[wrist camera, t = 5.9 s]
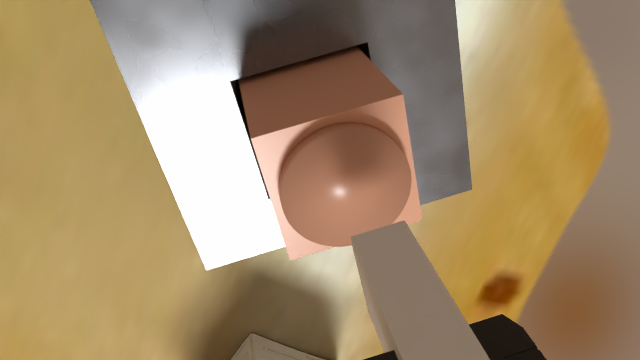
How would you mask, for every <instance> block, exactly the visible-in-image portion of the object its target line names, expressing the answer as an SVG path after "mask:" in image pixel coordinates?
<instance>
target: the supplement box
mask: <svg viewBox="0 0 640 360" xmlns="http://www.w3.org/2000/svg"><path fill="white" fill-rule="evenodd" d="M231 360H325V359H322V358H319V357H315V356H312V355H309V354H306V353H304V352H301V351H298V350H295V349H293V348H290V347H287V346H284V345H282V344H279V343H276V342H274V341H271V340H268V339H266V338H263V337H261V336H259V335H256V334H253V333H251V334H250V335H249V336H248V337H247V339H246V340H245V341H244V342H243V344H242V345H241V346H240V348H239V349H238V350H237V352H236V353H235V354H234V356H233V357H232V358H231Z"/></svg>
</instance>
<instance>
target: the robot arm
mask: <svg viewBox="0 0 640 360" xmlns="http://www.w3.org/2000/svg"><path fill="white" fill-rule="evenodd" d="M350 238H351V242H352V247H353V251H354V255H355V259H356V263H357V267H358V271H359V275H360V279H361V283H362V288H363V292H364V296H365V300H366V304H367V308H368V312H369V314H370V317H371V320H372V322H373V325H374V327H375V330H376V332H377V335H378V337H379V340H380V342H381V345H382V347H383V350H384V352H385V353H383V354H380V355H377V356H373V357H370V358H367V359H364V360H546V358H545V357H544V356H543V354H542V353H541V352H540V350H538V349H537V346H536V345H535V343H534V342H533V341H532V340H531V338H530V337H529V335H528V334H527V333H526V331H525V330H524V329H523V327H521V326H520V325H518V324H517V323H515V322H513V321H512V320H510V319H509V318H507V317H506V316H504V315H503V314H501V315H498V316H495V317H492V318H488V319H485V320H482V321H479V322H476V323H473V324H470V325H468V323H467V321H466V320H465V318H464V316H463V315H462V313H461V312H460V310H459V308H458V307H457V305H456V303H455V302H454V300H453V299H452V297H451V295H450V294H449V292H448V290H447V289H446V287H445V286H444V284H443V282H442V281H441V279H440V277H439V276H438V274H437V273H436V271H435V269H434V268H433V266H432V264H431V263H430V261H429V260H428V258H427V256H426V255H425V253H424V251H423V250H422V248H421V246H420V245H419V243H418V242H417V240H416V238H415V237H414V235H413V233H412V232H411V230H410V229H409V227H408V225H407V224H406V222H405V220H403V221H400V222H397V223H394V224H390V225H387V226H384V227H381V228H377V229H374V230H371V231H367V232H364V233H361V234H358V235H354V236H351V237H350Z"/></svg>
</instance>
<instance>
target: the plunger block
mask: <svg viewBox="0 0 640 360" xmlns="http://www.w3.org/2000/svg"><path fill="white" fill-rule="evenodd" d="M90 2H91V4H92V6H93V9H94V11H95V13H96V16H97V18H98V20H99V22H100V25H101V27H102V29H103V32H104V34H105V36H106V39H107V41H108V43H109V46H110V48H111V50H112V53H113V55H114V57H115V60H116V62H117V64H118V67H119V69H120V71H121V73H122V76H123V78H124V80H125V83H126V85H127V87H128V90H129V92H130V94H131V97H132V99H133V101H134V104H135V106H136V108H137V111H138V113H139V115H140V117H141V120H142V122H143V124H144V127H145V129H146V131H147V134H148V136H149V138H150V141H151V143H152V145H153V148H154V150H155V152H156V155H157V157H158V159H159V162H160V164H161V166H162V168H163V171H164V173H165V175H166V178H167V180H168V182H169V185H170V187H171V189H172V192H173V194H174V196H175V199H176V201H177V203H178V206H179V208H180V210H181V213H182V215H183V217H184V219H185V222H186V224H187V226H188V229H189V231H190V233H191V236H192V238H193V240H194V243H195V245H196V247H197V250H198V252H199V254H200V257H201V259H202V261H203V264H204V266H205V268H206V270H210V269H213V268H216V267H220V266H223V265H226V264H229V263H233V262H236V261H239V260H242V259H246V258H249V257H252V256H256V255H259V254H262V253H265V252H269V251H272V250H275V249H278V248H282V247H285V243H284V240H283V237H282V234H281V231H280V228H279V225H278V222H277V218H276V215H275V212H274V209H273V206H272V203H271V200H270V197H269V194H268V191H267V187H266V184H265V181H264V178H263V175H262V172H261V169H260V166H259V163H258V160H257V157H256V153H255V150H254V147H253V144H252V141H251V138H250V133H249V128H248V123H247V119H246V114H245V109H244V105H243V102H242V99H241V96H240V93H239V90H238V86H237V83H236V79H240V78H243V77H247V76H250V75H254V74H257V73H261V72H264V71H268V70H271V69H275V68H278V67H282V66H285V65H289V64H293V63H296V62H300V61H303V60H307V59H310V58H314V57H317V56H321V55H324V54H328V53H331V52H335V51H338V50H342V49H345V48H349V47H352V46H357V47H358V48H359V49H360V50H361V51H362V52H363V53H364V54H365V55H366V56H367V57H368V58H369V59H370V60H371V61H372V63H373V64H374V65H375V66H376V67H377V68H378V69H379V70H380V71H381V72H382V73H383V74H384V75H385V76H386V77H387V78H388V79H389V80H390V81H391V82H392V83H393V84H394V85H395V86H396V87H397V88H398V89H399V90H400V91H401V92H402V94H403V97H404V103H405V110H406V116H407V123H408V129H409V136H410V142H411V149H412V155H413V162H414V169H415V175H416V182H417V188H418V195H419V201H420V205H423V204H426V203H429V202H432V201H436V200H439V199H442V198H445V197H449V196H452V195H455V194H459V193H462V192H465V191H468V190H472V183H471V172H470V161H469V150H468V139H467V128H466V117H465V106H464V95H463V84H462V73H461V62H460V51H459V40H458V29H457V18H456V7H455V0H90Z"/></svg>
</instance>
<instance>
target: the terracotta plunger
mask: <svg viewBox="0 0 640 360" xmlns="http://www.w3.org/2000/svg"><path fill="white" fill-rule="evenodd" d="M238 81H239V86H240V90H241V95H242V100H243V105H244V109H245V114H246V119H247V123H248V128H249V133H250V138H251V141H252V144H253V147H254V150H255V153H256V157H257V160H258V163H259V166H260V169H261V172H262V175H263V178H264V181H265V184H266V187H267V191H268V194H269V197H270V200H271V203H272V206H273V209H274V212H275V215H276V218H277V222H278V225H279V228H280V231H281V234H282V237H283V240H284V243H285V246H286V249H287V252H288V256H289V259H290V261H291V260H294V259H297V258H300V257H304V256H307V255H310V254H313V253H317V252H320V251H323V250H326V249H330V248H333V247H341V246H350V245H352V242H351V238H350V237H351V236H354V235H358V234H361V233H364V232H367V231H371V230H374V229H377V228H381V227H384V226H387V225H390V224H394V223H397V222H400V221H403V220H405V222H406V224H407V225H408V224H411V223H414V222H418V221H421V220H422V214H421V208H420V201H419V195H418V188H417V182H416V175H415V169H414V162H413V155H412V149H411V142H410V136H409V129H408V123H407V116H406V110H405V103H404V97H403V94H402V92H401V91H400V90H399V89H398V88H397V87H396V86H395V85H394V84H393V83H392V82H391V81H390V80H389V79H388V78H387V77H386V76H385V75H384V74H383V73H382V72H381V71H380V70H379V69H378V68H377V67H376V66H375V65H374V64H373V63H372V61H371V60H370V59H369V58H368V57H367V56H366V55H365V54H364V53H363V52H362V51H361V50H360V49H359V48H358V47H357V46H352V47H349V48H345V49H342V50H338V51H335V52H331V53H328V54H324V55H321V56H317V57H314V58H310V59H307V60H303V61H300V62H296V63H293V64H289V65H285V66H282V67H278V68H275V69H271V70H268V71H264V72H261V73H257V74H254V75H250V76H247V77H243V78H240V79H238Z"/></svg>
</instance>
